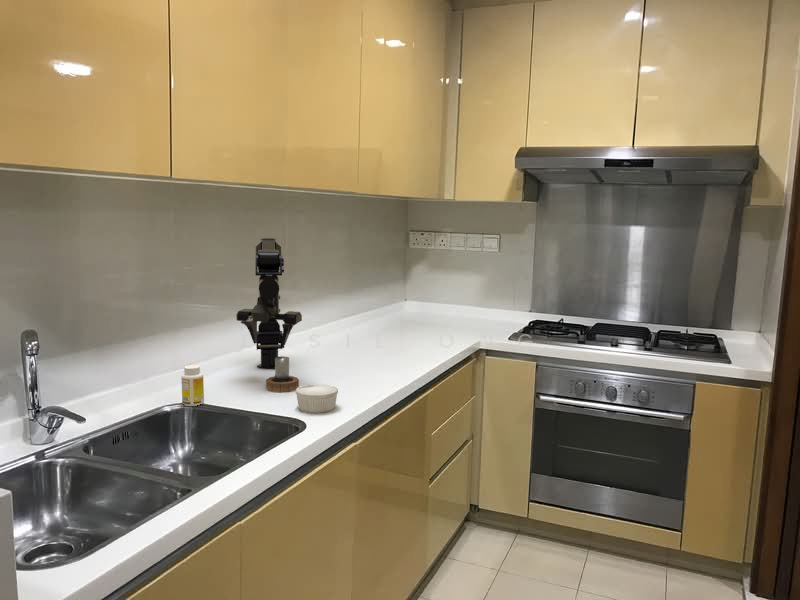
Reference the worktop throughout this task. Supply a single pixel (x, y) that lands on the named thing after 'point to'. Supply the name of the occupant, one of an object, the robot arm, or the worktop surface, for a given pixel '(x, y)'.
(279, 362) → the grey metal peg
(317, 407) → the ramekin
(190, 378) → the supplement bottle
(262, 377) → the worktop surface
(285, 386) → the brown segmented ring
